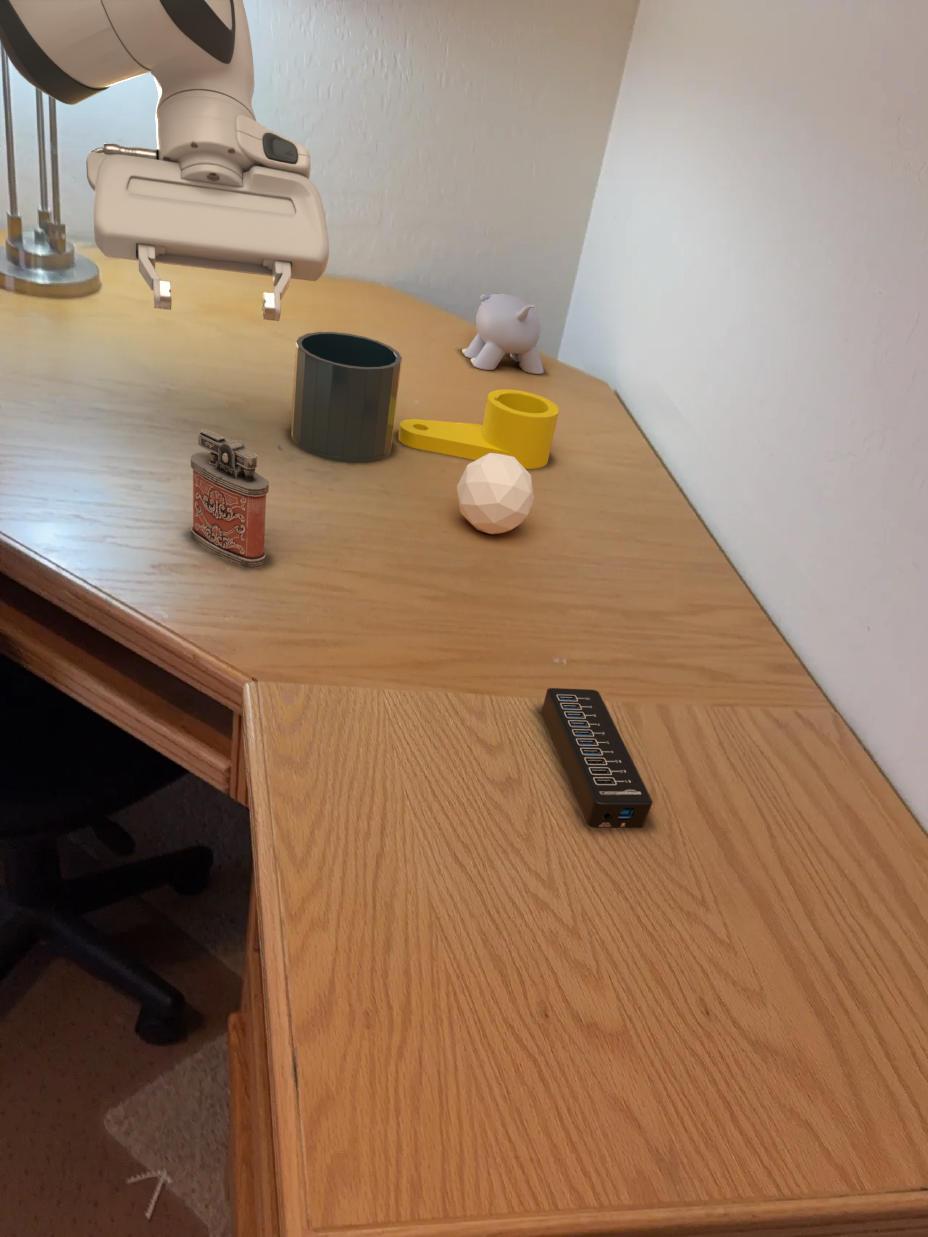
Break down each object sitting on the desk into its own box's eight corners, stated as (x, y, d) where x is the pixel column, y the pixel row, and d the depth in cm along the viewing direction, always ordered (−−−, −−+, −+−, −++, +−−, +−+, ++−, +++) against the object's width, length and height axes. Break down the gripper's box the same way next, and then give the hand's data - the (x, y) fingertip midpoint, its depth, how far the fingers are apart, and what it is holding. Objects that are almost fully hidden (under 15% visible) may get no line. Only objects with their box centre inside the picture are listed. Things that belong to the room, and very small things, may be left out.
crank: (541, 445, 130) (552, 395, 126) (552, 472, 124) (564, 421, 120) (396, 425, 126) (402, 373, 122) (400, 452, 120) (407, 398, 116)
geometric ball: (504, 556, 111) (558, 515, 106) (447, 537, 106) (501, 492, 100) (489, 494, 113) (542, 451, 108) (433, 472, 108) (485, 425, 102)
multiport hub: (591, 712, 86) (598, 688, 85) (645, 828, 76) (654, 803, 75) (539, 710, 85) (545, 686, 84) (588, 828, 75) (596, 803, 73)
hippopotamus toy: (517, 345, 159) (530, 275, 153) (551, 381, 149) (566, 308, 143) (449, 338, 156) (459, 267, 149) (480, 375, 146) (492, 300, 139)
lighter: (273, 561, 96) (279, 453, 89) (247, 572, 94) (251, 461, 87) (209, 528, 99) (209, 420, 92) (182, 537, 96) (180, 427, 90)
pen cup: (298, 459, 114) (304, 362, 107) (285, 419, 121) (289, 326, 115) (399, 466, 117) (411, 373, 111) (380, 427, 125) (390, 337, 118)
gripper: (83, 114, 88) (92, 277, 88) (327, 151, 94) (336, 304, 94) (86, 164, 94) (95, 317, 94) (316, 197, 100) (324, 340, 100)
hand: (218, 311), depth 94 cm, fingers open, 8 cm apart
